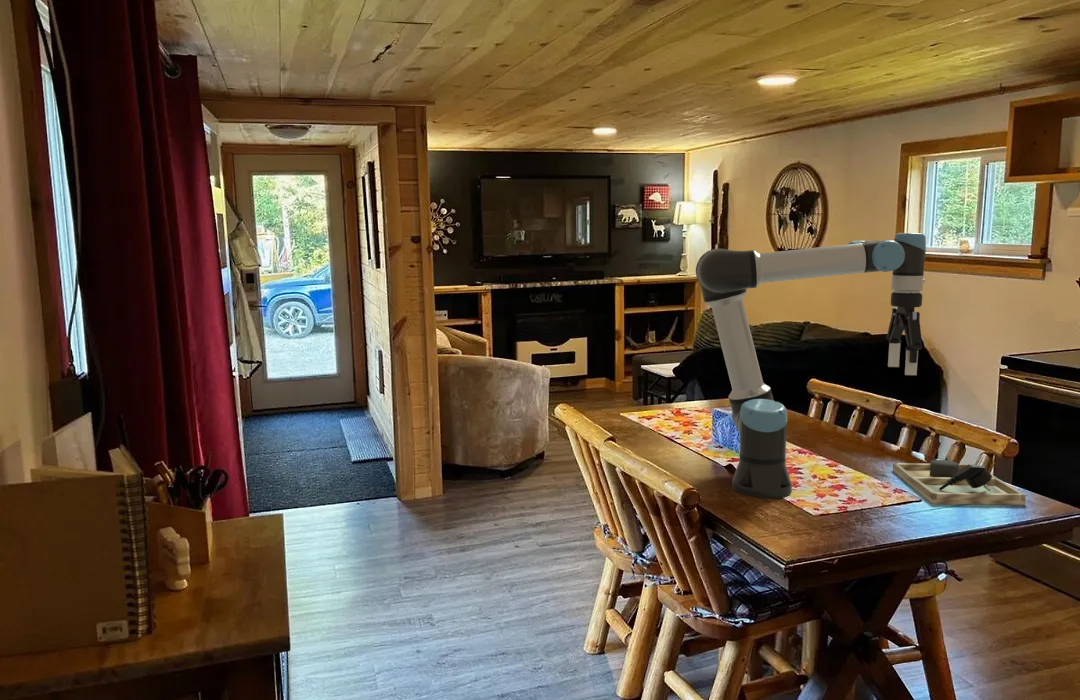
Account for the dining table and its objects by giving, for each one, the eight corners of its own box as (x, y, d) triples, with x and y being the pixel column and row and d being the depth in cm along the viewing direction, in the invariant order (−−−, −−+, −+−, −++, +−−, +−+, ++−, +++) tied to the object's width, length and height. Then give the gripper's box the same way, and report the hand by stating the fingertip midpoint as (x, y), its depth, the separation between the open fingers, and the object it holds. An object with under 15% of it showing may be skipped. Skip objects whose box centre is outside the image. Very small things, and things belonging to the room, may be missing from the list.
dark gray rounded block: (937, 479, 208) (938, 466, 207) (924, 472, 215) (925, 460, 214) (963, 479, 208) (964, 466, 207) (950, 472, 215) (950, 459, 214)
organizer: (932, 503, 192) (932, 493, 192) (892, 471, 219) (893, 463, 219) (1025, 504, 191) (1025, 495, 190) (973, 472, 217) (974, 464, 217)
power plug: (934, 483, 202) (974, 457, 199) (952, 506, 202) (993, 480, 199) (941, 490, 196) (983, 462, 194) (960, 513, 196) (1002, 486, 194)
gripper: (940, 294, 192) (934, 379, 195) (905, 289, 217) (900, 363, 220) (908, 294, 193) (903, 378, 196) (877, 288, 218) (873, 363, 221)
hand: (901, 370), depth 208 cm, fingers open, 13 cm apart
